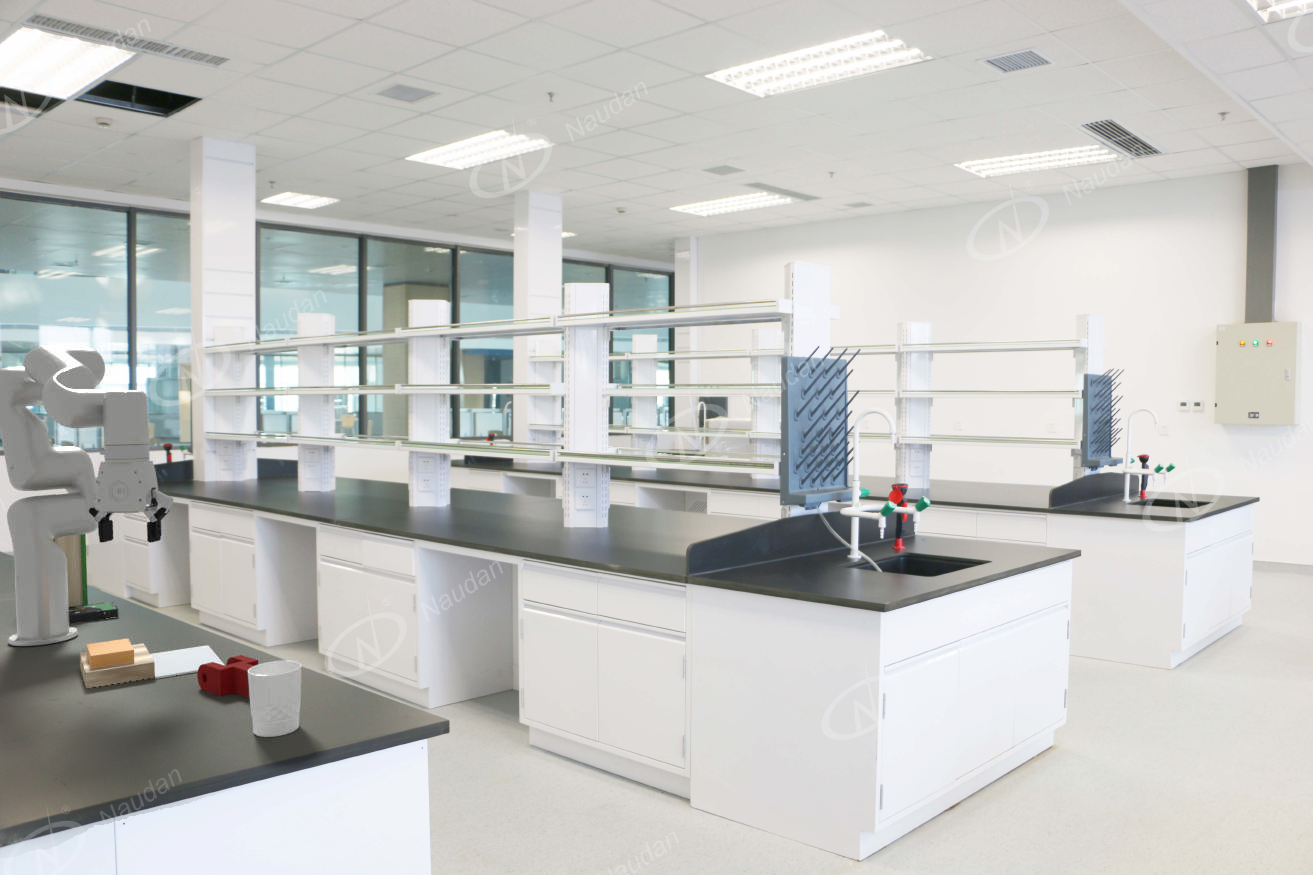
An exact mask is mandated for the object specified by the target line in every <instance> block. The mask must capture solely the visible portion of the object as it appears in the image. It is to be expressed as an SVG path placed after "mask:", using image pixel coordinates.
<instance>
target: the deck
mask: <svg viewBox="0 0 1313 875" xmlns="http://www.w3.org/2000/svg"><path fill="white" fill-rule="evenodd" d="M131 645H132V647H133V649H134V661H132V662H126V663H119V664H113V665H106V666H100V667H93V668H91V667H90V664H89V660H88V657H87V651H83V652H79V669H80V672H81V676H82V678H83V682H85V683H84V686H85V689H86V690H88V689H87V688H90V689H93V688H92V687H96V688H100V687H99V686H102V687H106V686H105V685H108V686H112V685H111V684H114V685H118V684H117V683H120V684H124V682H126V683H130V682H129V681H132V682H137V681H136V680H138V681H143V680H142V679H144V680H149V679H148V678H150V679H155V663H154V660H153V659H152V657H151V655H150V654H151V653H150V651H149V650H148V647H147V646H146V645H145V644H144V643H138V644H131Z"/></svg>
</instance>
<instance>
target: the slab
mask: <svg viewBox="0 0 1313 875" xmlns="http://www.w3.org/2000/svg"><path fill="white" fill-rule="evenodd" d="M132 645H133V644H132V643H131V641H130V639H129V638H122V639H114V640H109V641H101V642H100V641H99V642H92V643H86V652H87V657H88V660H89V664H90V667H91V668H93V667H100V666H106V665H113V664H119V663H126V662H132V661H134V649H133V647H132Z"/></svg>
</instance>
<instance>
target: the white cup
mask: <svg viewBox="0 0 1313 875" xmlns="http://www.w3.org/2000/svg"><path fill="white" fill-rule="evenodd" d="M248 682H249V696H250V698H249V705H250V714H251V718H252V719H251V720H252V732H253V734H254V735H255V736H257V737H262V738H270V737H271V738H273V737H274V738H275V737H280V736H285V735H289V734H291V733H293V732H295V731H296V730H298V729H299V728H300V727H299V725H300V711H301V701H302V700H301V695H302V663H301V662H299V661H295V660H273V661H267V662H263V663H258V665H256V666H253V667H251V668H250V669H249V670H248Z"/></svg>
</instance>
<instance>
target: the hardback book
mask: <svg viewBox="0 0 1313 875" xmlns="http://www.w3.org/2000/svg"><path fill="white" fill-rule="evenodd" d="M86 535H87V534H81V535H73V536H64V537H59V538H54V539H53V541H54V542H55V544H56V545H57V546H59V547H60V548H61V549H62V551H63V552H64V553H65V555H66V558H67V575H68V604H69V607H73V606H81V605H89V602H88V572H87V570H88V569H87V544H86V543H87V542H86Z"/></svg>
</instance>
